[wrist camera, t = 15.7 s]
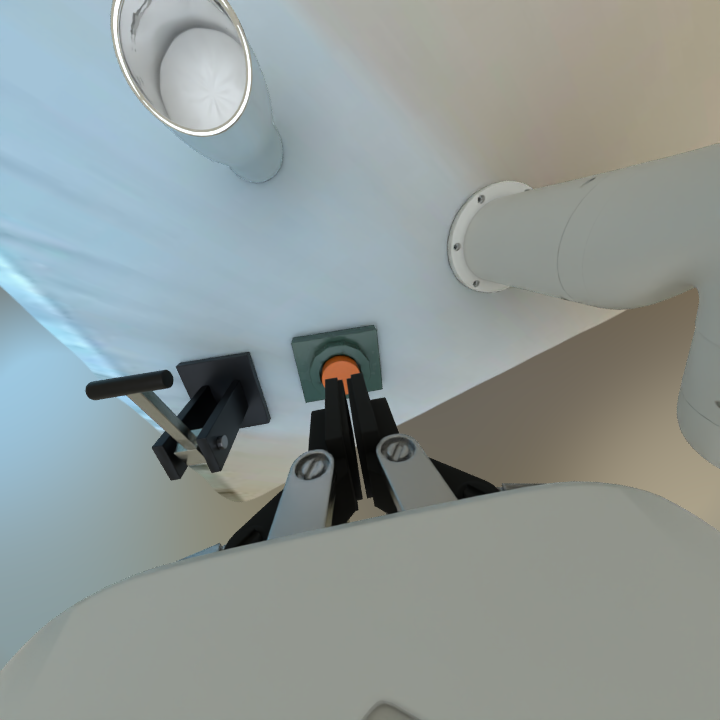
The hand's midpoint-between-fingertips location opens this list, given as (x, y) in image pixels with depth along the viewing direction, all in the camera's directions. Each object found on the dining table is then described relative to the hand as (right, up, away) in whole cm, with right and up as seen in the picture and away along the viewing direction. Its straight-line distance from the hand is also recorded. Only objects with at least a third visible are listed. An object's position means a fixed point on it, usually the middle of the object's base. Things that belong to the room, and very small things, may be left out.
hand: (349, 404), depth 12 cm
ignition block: (-3, +2, +26) cm, 26 cm away
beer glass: (-10, +24, +15) cm, 30 cm away
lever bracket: (-18, -3, +26) cm, 32 cm away
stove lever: (-17, -3, +13) cm, 22 cm away
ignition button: (-2, 0, +23) cm, 23 cm away
